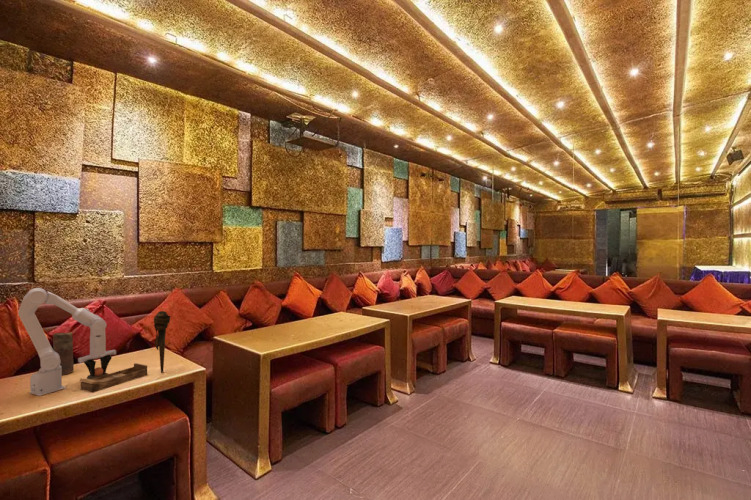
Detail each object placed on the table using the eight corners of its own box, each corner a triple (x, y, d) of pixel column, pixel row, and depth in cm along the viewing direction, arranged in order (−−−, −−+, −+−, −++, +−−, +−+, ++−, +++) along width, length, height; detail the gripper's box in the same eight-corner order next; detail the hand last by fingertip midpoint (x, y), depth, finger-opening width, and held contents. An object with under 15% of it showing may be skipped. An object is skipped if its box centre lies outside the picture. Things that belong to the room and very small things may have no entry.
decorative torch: (163, 369, 178) (162, 309, 179) (173, 371, 176) (173, 310, 176) (150, 374, 172) (150, 311, 172) (160, 375, 170) (160, 312, 170)
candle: (49, 375, 172) (49, 333, 172) (66, 370, 179) (66, 330, 179) (60, 376, 170) (59, 334, 170) (77, 371, 177) (77, 331, 177)
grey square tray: (94, 383, 160) (94, 377, 160) (86, 381, 162) (86, 375, 163) (109, 379, 165) (109, 373, 165) (101, 377, 168) (101, 371, 168)
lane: (91, 392, 150) (91, 381, 150) (79, 389, 154) (79, 378, 154) (147, 374, 171) (147, 365, 171) (135, 372, 175) (135, 363, 175)
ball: (95, 378, 161) (95, 369, 161) (90, 377, 163) (90, 368, 163) (105, 375, 165) (105, 366, 165) (100, 374, 167) (100, 365, 167)
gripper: (84, 349, 156) (84, 380, 156) (119, 341, 169) (120, 370, 169) (75, 347, 159) (75, 378, 159) (111, 340, 172) (111, 368, 172)
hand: (97, 374), depth 164 cm, fingers closed on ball, 4 cm apart
